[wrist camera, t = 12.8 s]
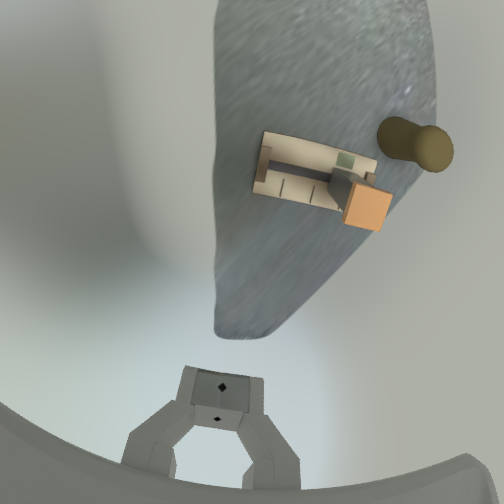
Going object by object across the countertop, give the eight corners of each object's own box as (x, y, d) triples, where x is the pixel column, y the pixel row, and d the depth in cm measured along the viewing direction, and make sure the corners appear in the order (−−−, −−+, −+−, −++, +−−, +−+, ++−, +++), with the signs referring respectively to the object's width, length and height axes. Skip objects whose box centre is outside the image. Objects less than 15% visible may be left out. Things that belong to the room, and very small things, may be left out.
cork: (417, 123, 30) (465, 133, 20) (409, 163, 33) (454, 185, 23) (380, 111, 30) (424, 115, 20) (373, 153, 33) (413, 172, 23)
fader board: (264, 130, 32) (264, 132, 30) (374, 159, 33) (380, 162, 31) (252, 190, 36) (252, 194, 34) (357, 212, 37) (362, 218, 35)
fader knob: (331, 163, 32) (356, 184, 23) (359, 171, 32) (392, 194, 23) (323, 193, 34) (344, 223, 25) (351, 199, 34) (379, 232, 25)
